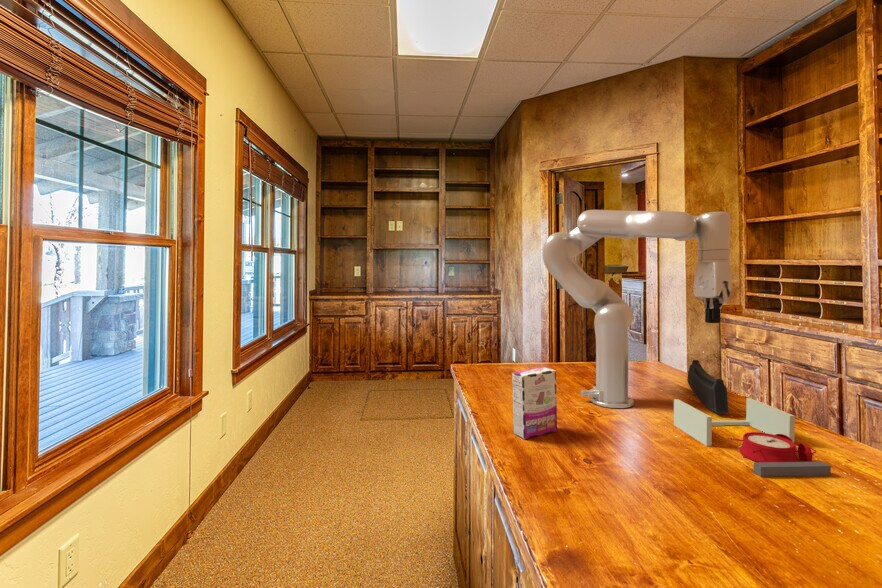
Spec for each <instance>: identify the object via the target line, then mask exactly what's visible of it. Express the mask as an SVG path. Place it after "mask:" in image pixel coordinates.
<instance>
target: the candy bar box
mask: <svg viewBox="0 0 882 588" xmlns="http://www.w3.org/2000/svg"><path fill="white" fill-rule="evenodd" d="M511 385H512V388H511V389H512V390H511V391H512V419H513V421H512V425H513V428H512V429H513V435H515V436H516V437H519V438H521V439H523V440H527V439H529V440H530V439H533V438H537V437H540V436H544V435H547V434H552V433H556V432H557V431H558V420H557V419H558V417H557V416H558V413H557V412H558V410H557V409H558V408H557V370H555V369H552V368H549V367H538V368H532V369H525V370H520V371H515V372H511Z"/></svg>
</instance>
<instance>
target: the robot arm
mask: <svg viewBox="0 0 882 588" xmlns="http://www.w3.org/2000/svg"><path fill="white" fill-rule="evenodd" d="M576 225H577V226H576V227H574V228H573V229H572V230H570V231H569V232H568V233H567V232H564V231H563V232H562V231H560V232H559V231H557V232H554V233H552V234H550V235H549V236H548V237H547V238H546V239H545V241H544V244H543V246H542V247H543V248H542V260H543V263H544V266H545V267H546V270H547V271H548V272H549V274H551V276H552V277H553V278H554V279H555V280H556V281H557V283H559V284H560V285H561V287H562V288H563V289H564V290H565V291H566V292H567V293H568V294H569V295H570V297H572V299H573V300H574V301H575V303H577V304H578V305H579V306H580V307H582V308H585V309H591V310H592V311H593V312H594V313H595V315H594V321H593V323H594V326H593V327H594V334H595V355H596V356H595V363H596V364H595V367H596V368H595V369H596V370H595V375H596V376H595V384H596V385H592V388H591V389H581V390H580V395H581V397H587V398H590V401H591V402H592V403H593V404H594V405H596V406H599V407H603V408H610V409H626V408H632V406H634V404H635V403H634V399H632V398H631V397H629V337H628V334H629V333H628V328H629V327H631V325H633V324H632V323H633V321H634V312H633V311H632V309H631V308H632V307H630V306H629V305H628V304H627V302H626V301H625V300H623V298H621V296H619V294H617V292H616V291H614V290H613V289H612V288H611V287H610V286H609V285H608V284H607V283H606V282H604V281H603V280H600V279H597V278H592V277H591V276H590V275H589V274H587V272H585V271H584V270H583V268H582V267H581V266H580V265H578V264H577V263H576V262H575V261H574V260H573V258H575V257H577V256H579V255H580V254H582V253H583V252H584V251H586V250H587V249H588V248H590V247H592V245H594V244H595V243H596V242H598V241H599V240H600V239H602V238H609V239H610V238H611V239H612V238H613V239H623V240H624V239H627V240H628V239H629V240H630V239H637V238H658V239H672V240H673V239H674V240H675V241H678V242H687V241H692V240H697V263H696V265H695V271H694V277H693V278H694V279H693V280H694V281H693V295H694V296H695V297H696V298H698V300H699V301H701V302H702V303H703V308H704V314H705V315H704V322H705V323H707V324H720V323H721V309H722V308H723V304H727V303H729V298H730V297H731V295H732V290H733V279H732V269H731V268H732V267H731V215H730V213H729V212H728V211H709V212H704V213H702V214H700V215H692V214H690V213H688V212H685V211H674V210H673V211H671V210H667V211H666V210H619V209H617V210H616V209H615V210H613V209H612V210H611V209H587V210H584V211H583V212H581V214H579V216H578V218H577V222H576Z"/></svg>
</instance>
